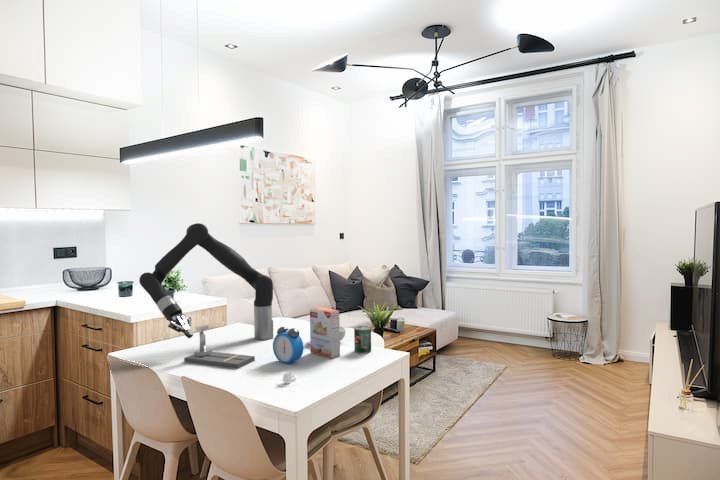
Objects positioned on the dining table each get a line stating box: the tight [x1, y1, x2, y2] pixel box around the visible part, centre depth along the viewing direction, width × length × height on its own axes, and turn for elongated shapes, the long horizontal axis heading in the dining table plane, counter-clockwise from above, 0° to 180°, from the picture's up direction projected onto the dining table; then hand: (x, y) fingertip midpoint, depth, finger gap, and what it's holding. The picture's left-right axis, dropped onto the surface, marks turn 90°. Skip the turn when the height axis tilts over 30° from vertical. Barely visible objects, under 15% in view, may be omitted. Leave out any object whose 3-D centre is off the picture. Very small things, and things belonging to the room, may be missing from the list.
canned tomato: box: [353, 325, 372, 354], centre depth 213 cm, size 8×8×11 cm
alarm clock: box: [272, 326, 304, 365], centre depth 197 cm, size 13×6×15 cm, turn 54°
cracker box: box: [309, 306, 341, 359], centre depth 207 cm, size 14×6×21 cm, turn 47°
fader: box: [193, 324, 213, 356], centre depth 202 cm, size 5×6×13 cm
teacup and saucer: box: [276, 371, 299, 387], centre depth 171 cm, size 9×8×4 cm
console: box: [183, 351, 256, 370], centre depth 199 cm, size 28×12×2 cm, turn 68°
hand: (191, 336), depth 204 cm, fingers closed
